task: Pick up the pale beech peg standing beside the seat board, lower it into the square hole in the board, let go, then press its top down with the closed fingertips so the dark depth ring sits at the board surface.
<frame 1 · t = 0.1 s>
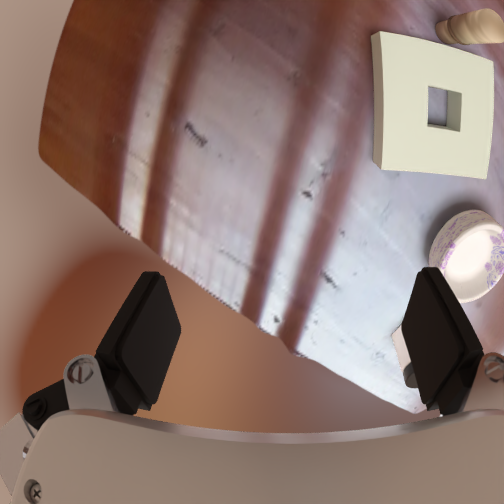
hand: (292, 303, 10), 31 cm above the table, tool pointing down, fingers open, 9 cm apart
jar: (410, 331, 53), on the table
peg: (445, 32, 24), on the table
board: (431, 105, 30), on the table
paper bowls: (456, 240, 41), on the table
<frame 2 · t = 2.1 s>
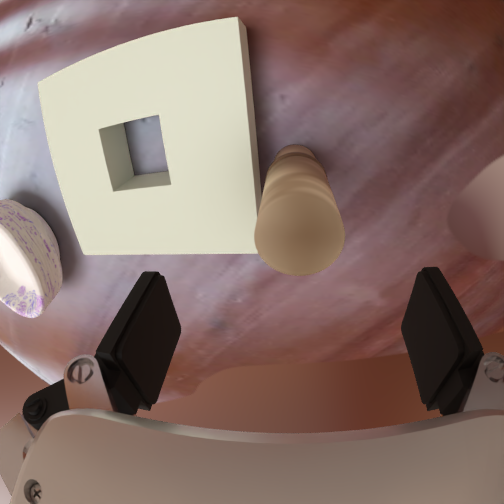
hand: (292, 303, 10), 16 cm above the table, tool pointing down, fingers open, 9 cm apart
peg: (295, 165, 23), on the table
board: (154, 143, 23), on the table
paper bowls: (36, 238, 32), on the table
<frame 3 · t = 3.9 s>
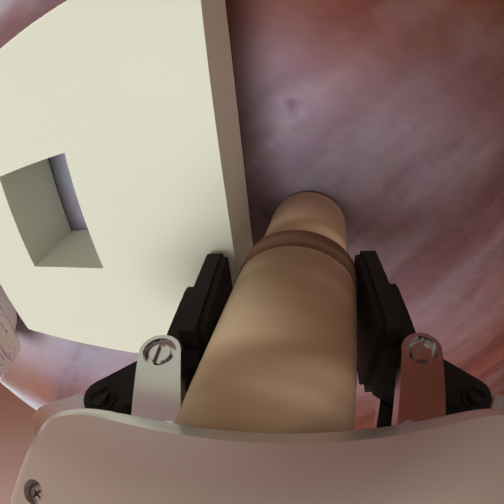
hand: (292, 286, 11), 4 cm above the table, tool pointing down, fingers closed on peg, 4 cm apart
peg: (308, 226, 14), on the table, tilted 7°, touching gripper
board: (88, 186, 14), on the table
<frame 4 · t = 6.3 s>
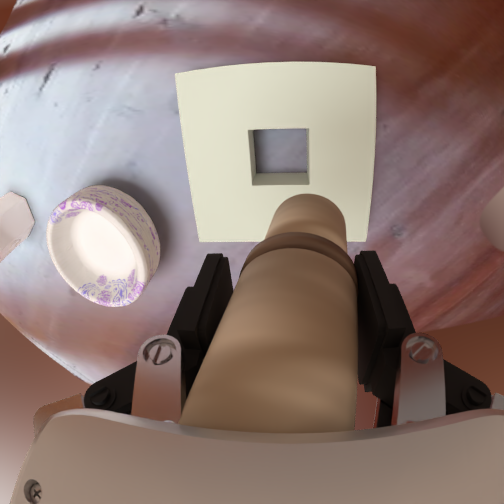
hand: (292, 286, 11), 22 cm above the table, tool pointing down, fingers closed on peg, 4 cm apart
jar: (20, 213, 38), on the table
peg: (308, 227, 14), point 18 cm above the table, tilted 8°, touching gripper
board: (280, 148, 29), on the table
paper bowls: (119, 227, 37), on the table
when the fingers open (5 cm above the table, at t = 8.7 s): peg drops 1 cm, on the table.
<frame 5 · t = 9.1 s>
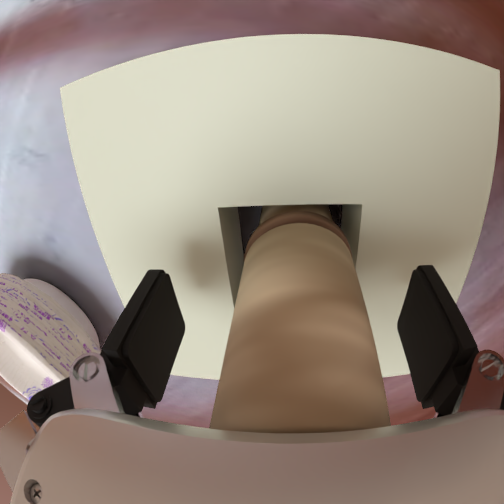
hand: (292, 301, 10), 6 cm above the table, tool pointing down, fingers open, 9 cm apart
peg: (295, 214, 15), on the table
board: (290, 222, 15), on the table
paper bowls: (59, 315, 23), on the table
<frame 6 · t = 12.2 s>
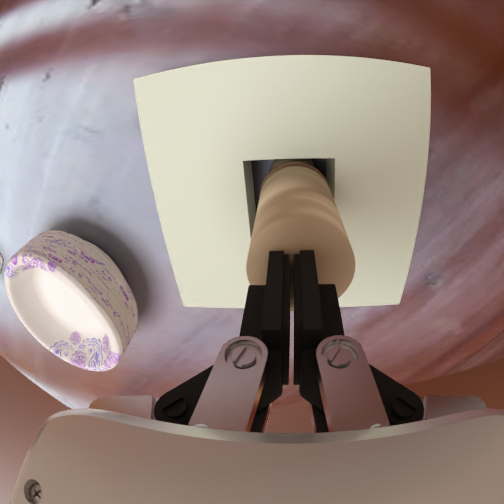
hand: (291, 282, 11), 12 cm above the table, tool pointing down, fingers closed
peg: (293, 174, 21), on the table, touching gripper
board: (289, 180, 21), on the table
paper bowls: (91, 274, 29), on the table
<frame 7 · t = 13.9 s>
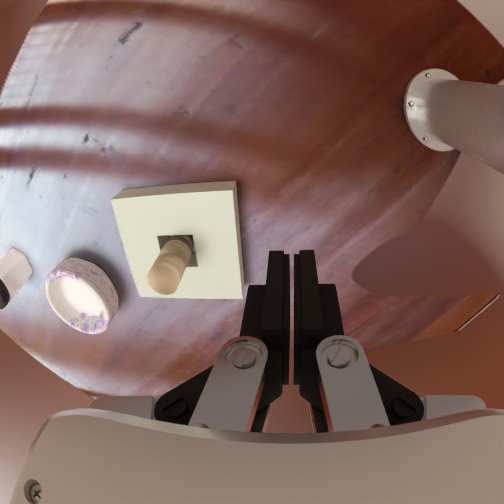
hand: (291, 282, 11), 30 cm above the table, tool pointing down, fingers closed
jar: (21, 263, 52), on the table
peg: (185, 235, 45), on the table
board: (184, 238, 46), on the table
paper bowls: (92, 280, 52), on the table
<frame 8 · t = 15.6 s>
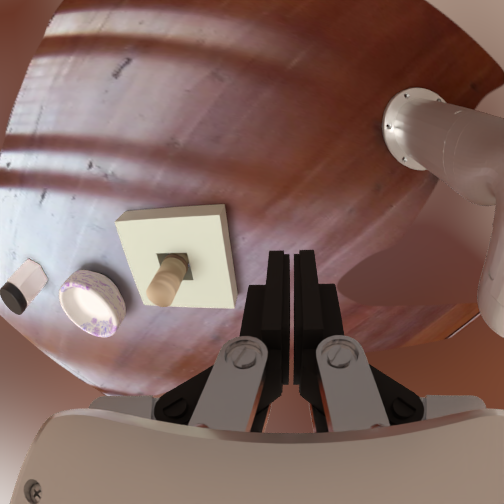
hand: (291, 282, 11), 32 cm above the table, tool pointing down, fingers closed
jar: (36, 272, 59), on the table
peg: (182, 251, 50), on the table
board: (181, 253, 51), on the table
paper bowls: (102, 288, 59), on the table
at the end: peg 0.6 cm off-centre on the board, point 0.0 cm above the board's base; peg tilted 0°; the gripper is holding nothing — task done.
